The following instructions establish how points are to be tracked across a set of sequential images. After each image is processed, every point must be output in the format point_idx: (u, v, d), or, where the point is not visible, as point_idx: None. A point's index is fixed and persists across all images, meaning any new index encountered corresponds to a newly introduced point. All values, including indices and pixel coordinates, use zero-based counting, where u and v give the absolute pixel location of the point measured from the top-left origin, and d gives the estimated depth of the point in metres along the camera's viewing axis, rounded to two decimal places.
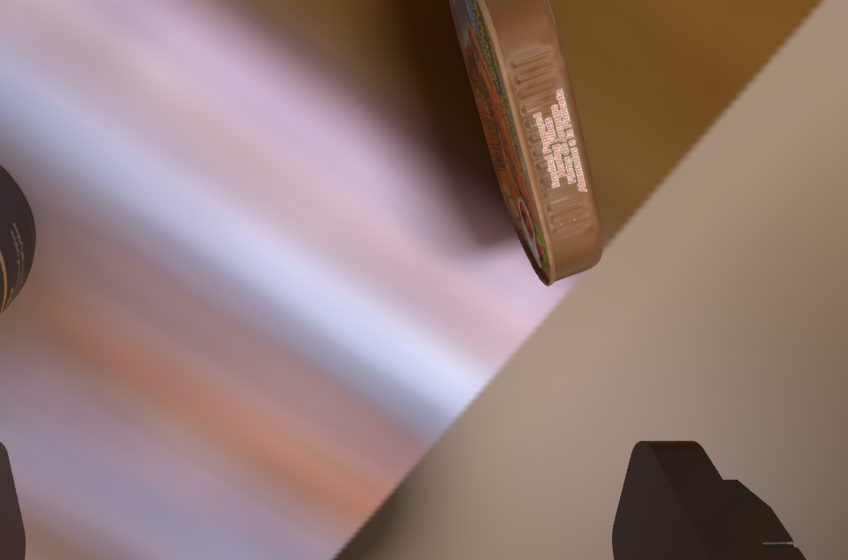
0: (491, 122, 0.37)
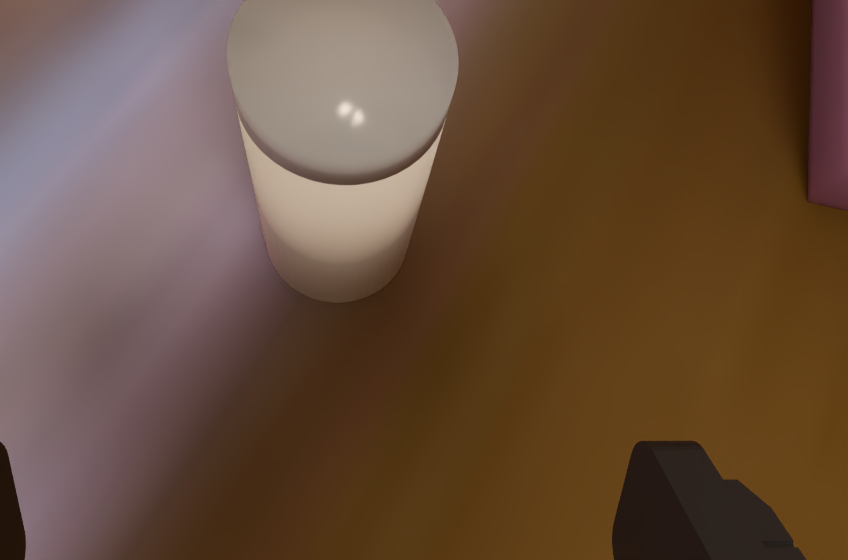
0: None
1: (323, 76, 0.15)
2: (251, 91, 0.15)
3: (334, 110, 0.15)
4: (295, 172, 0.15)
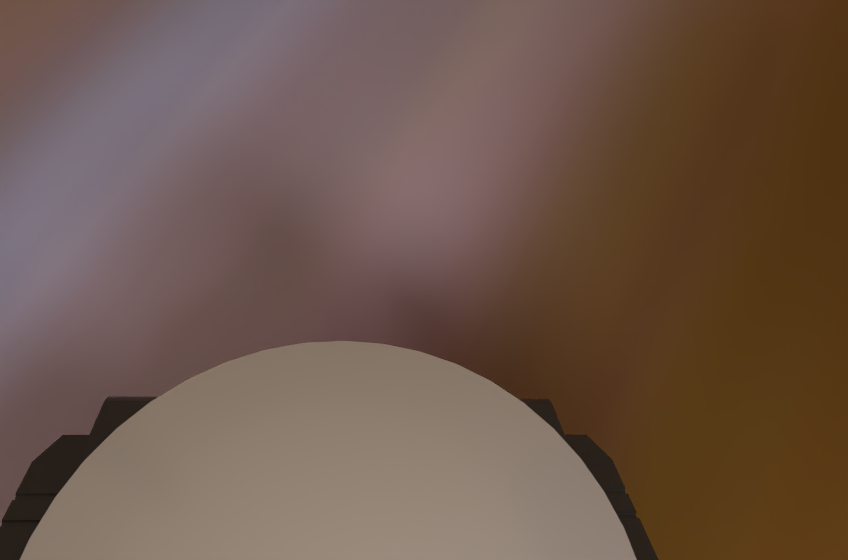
0: None
1: None
2: None
3: None
4: None
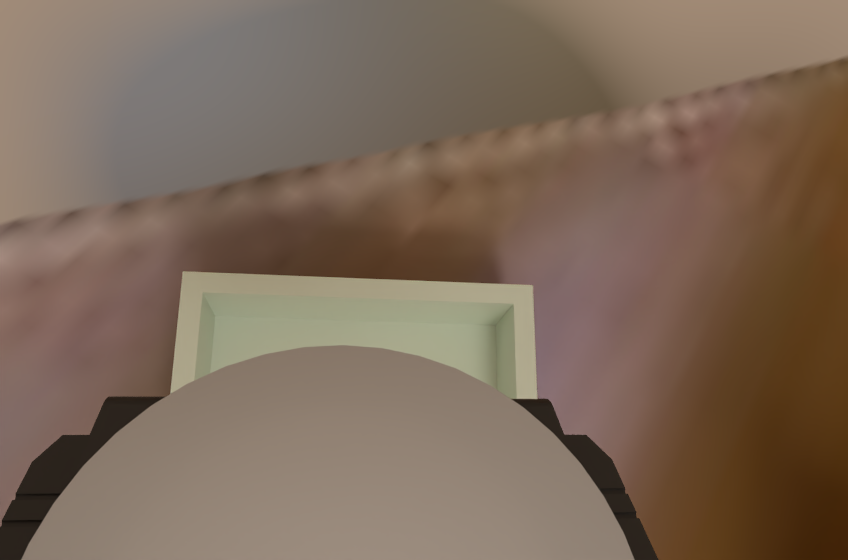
0: None
1: None
2: None
3: None
4: None
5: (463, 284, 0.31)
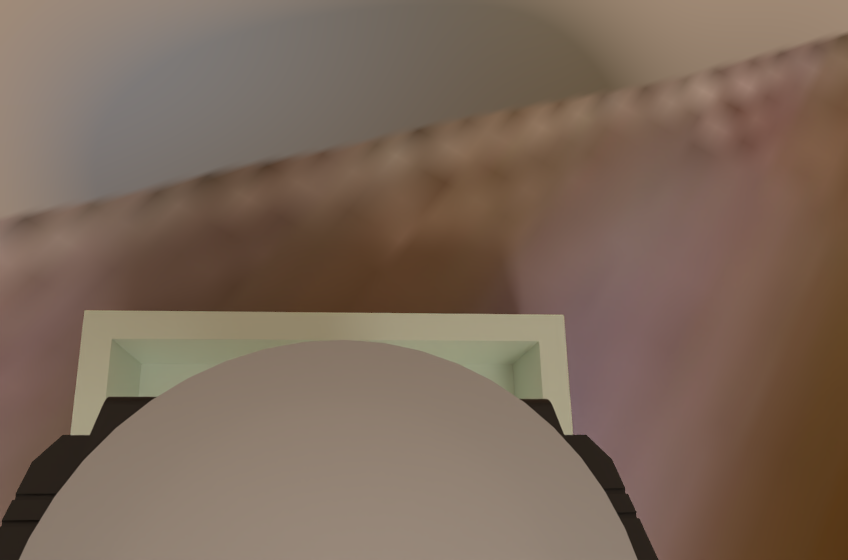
0: None
1: None
2: None
3: None
4: None
5: (470, 316, 0.23)
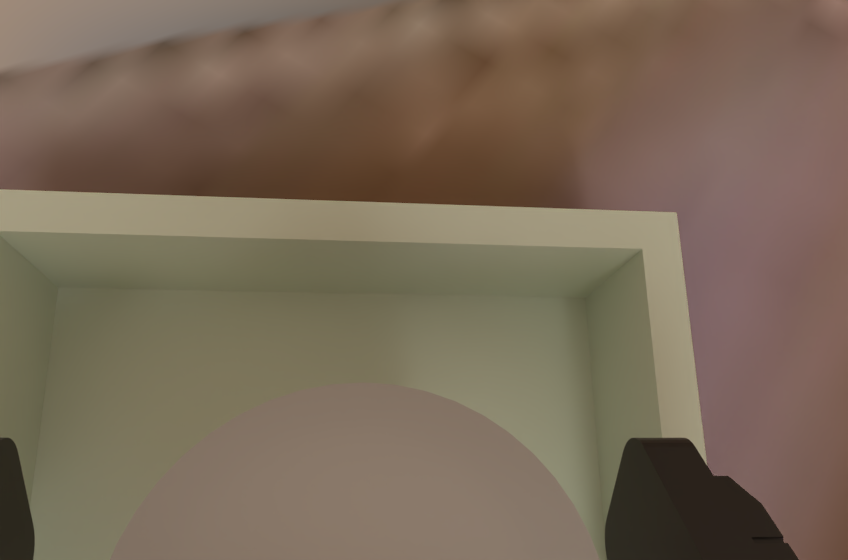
0: None
1: None
2: None
3: None
4: None
5: (540, 211, 0.15)
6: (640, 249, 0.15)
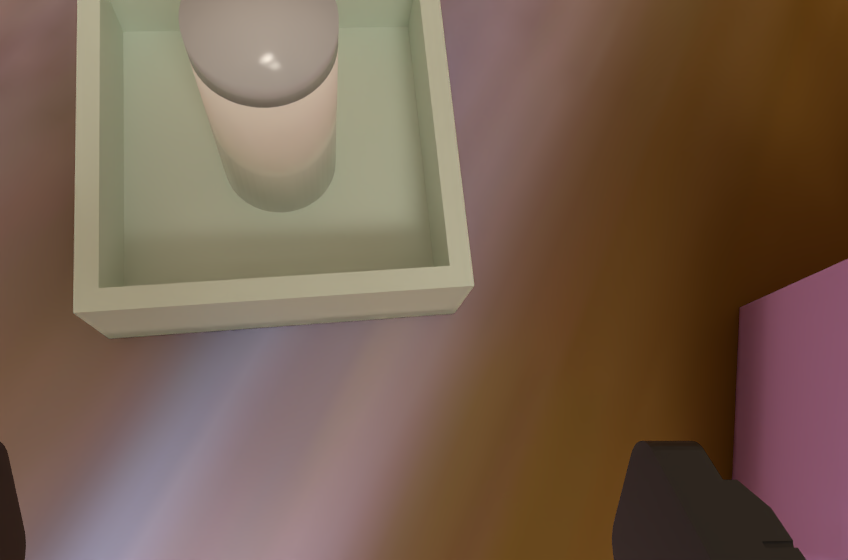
0: None
1: (246, 33, 0.22)
2: (198, 47, 0.22)
3: (255, 55, 0.22)
4: (234, 101, 0.23)
5: None
6: None
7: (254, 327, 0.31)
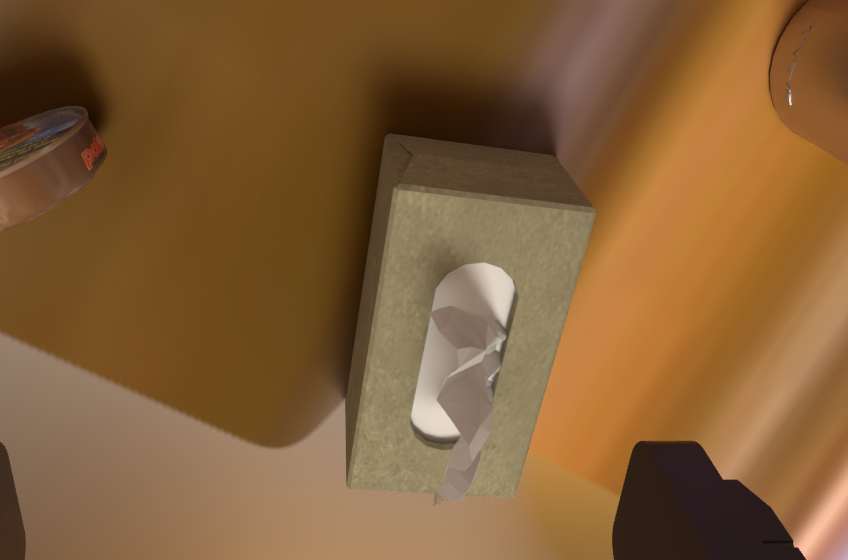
0: None
1: None
2: None
3: None
4: None
5: None
6: None
7: None
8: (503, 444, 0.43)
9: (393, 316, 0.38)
